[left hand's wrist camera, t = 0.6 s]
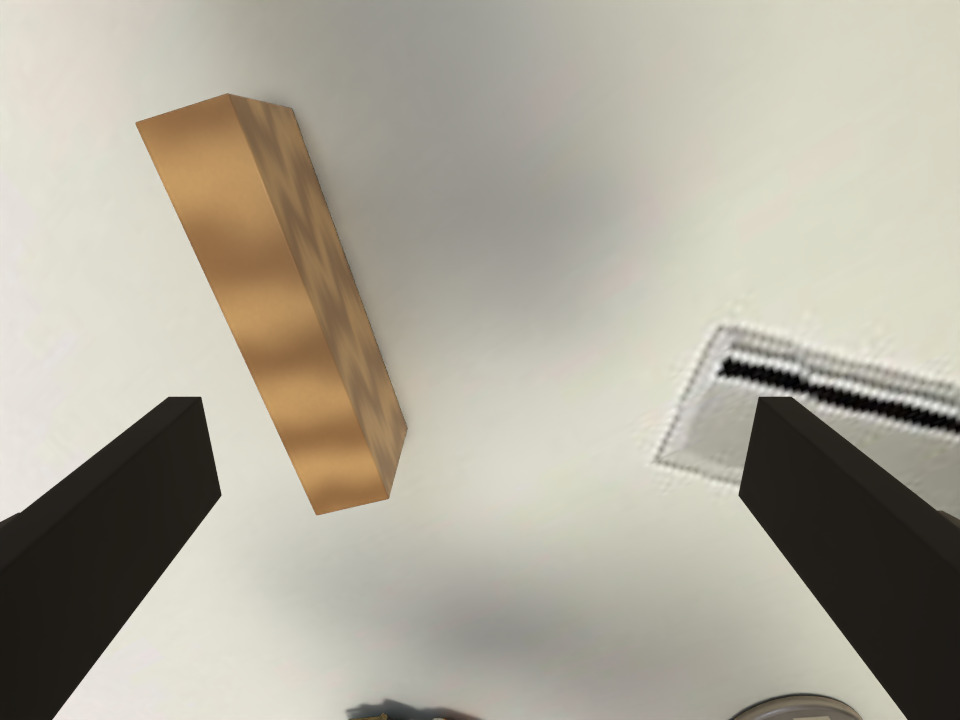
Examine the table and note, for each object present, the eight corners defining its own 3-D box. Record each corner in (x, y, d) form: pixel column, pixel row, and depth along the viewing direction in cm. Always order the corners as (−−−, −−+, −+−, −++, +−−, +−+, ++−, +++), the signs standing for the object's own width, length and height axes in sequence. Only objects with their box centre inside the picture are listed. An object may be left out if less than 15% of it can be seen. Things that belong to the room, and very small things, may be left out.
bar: (220, 129, 33) (134, 122, 25) (291, 107, 33) (227, 92, 24) (349, 442, 41) (315, 516, 33) (407, 428, 41) (389, 499, 33)
